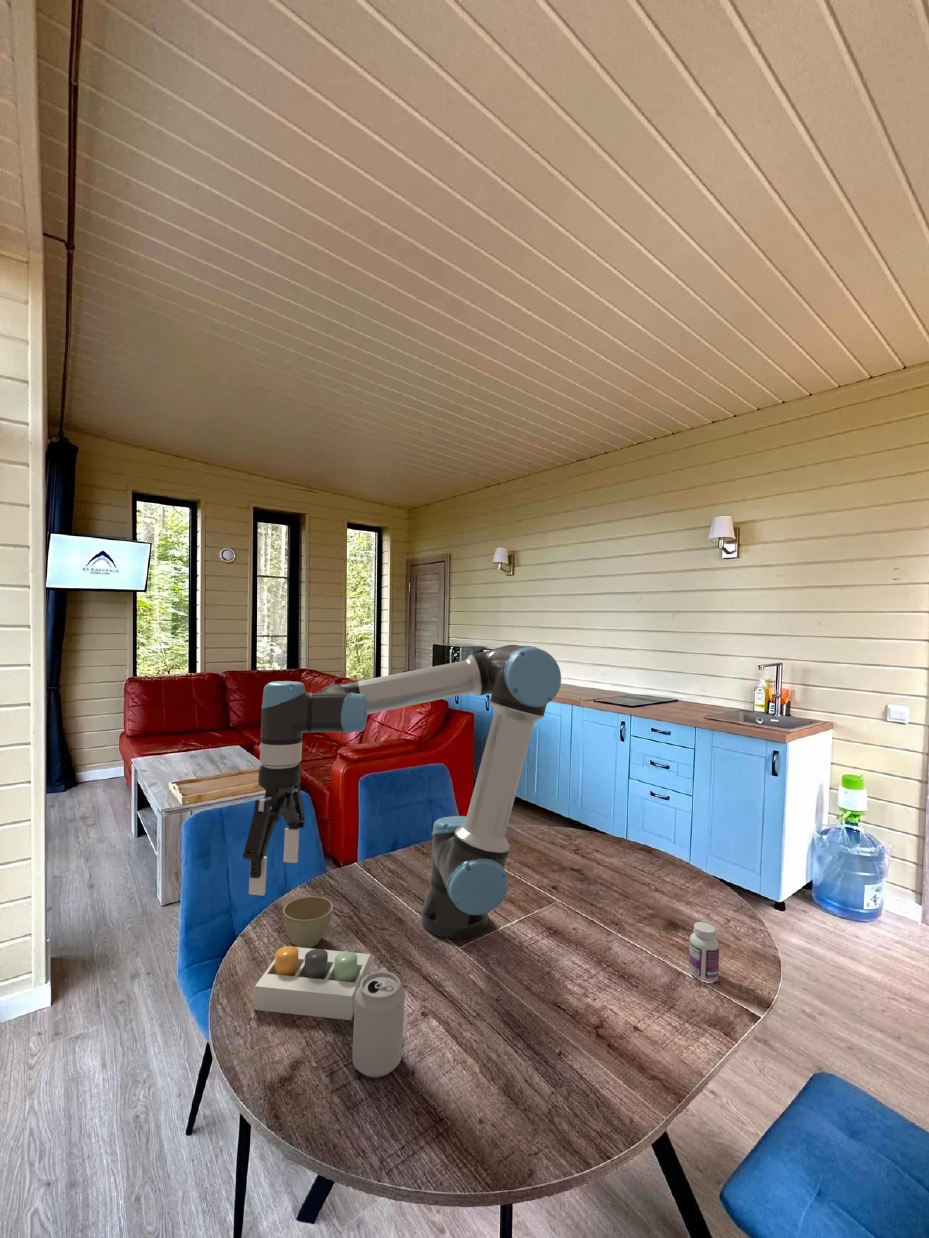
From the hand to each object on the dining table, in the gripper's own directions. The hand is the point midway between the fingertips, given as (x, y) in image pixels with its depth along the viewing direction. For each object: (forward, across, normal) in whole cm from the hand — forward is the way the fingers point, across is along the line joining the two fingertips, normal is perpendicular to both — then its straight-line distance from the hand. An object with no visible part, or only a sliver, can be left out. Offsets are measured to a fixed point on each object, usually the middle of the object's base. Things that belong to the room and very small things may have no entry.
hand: (274, 876), depth 103 cm
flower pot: (+19, -12, +2) cm, 22 cm away
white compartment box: (+18, +3, +10) cm, 21 cm away
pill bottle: (+19, -16, +83) cm, 86 cm away
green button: (+16, +2, +15) cm, 22 cm away
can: (+19, +16, +25) cm, 35 cm away
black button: (+16, +3, +10) cm, 19 cm away
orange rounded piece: (+16, +3, +4) cm, 17 cm away
